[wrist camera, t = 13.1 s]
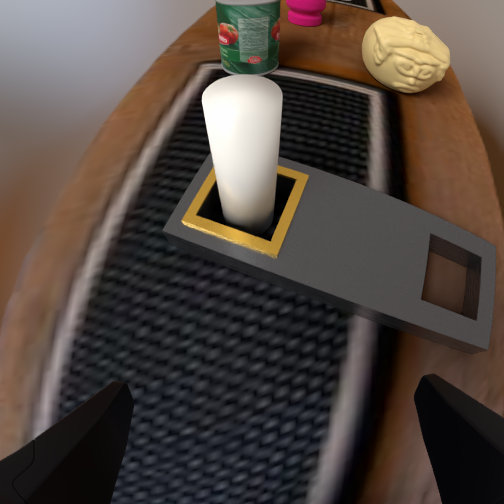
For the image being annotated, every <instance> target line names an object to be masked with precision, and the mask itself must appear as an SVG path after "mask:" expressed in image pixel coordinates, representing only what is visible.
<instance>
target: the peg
mask: <svg viewBox="0 0 504 504" xmlns="http://www.w3.org/2000/svg"><path fill="white" fill-rule="evenodd" d="M202 104H203V109H204V115H205V121H206V126H207V132H208V137H209V143H210V148H211V153H212V159H213V164H214V169H215V175H216V180H217V185H218V190H219V195H220V201H221V206H222V211H223V216H224V221H225V224H226V226H228V227H231V228H234V229H236V230H239V231H242V232H245V233H248V234H250V235H253V236H258V235H260V234H262V233H264V232H265V231H266V230H268V228H269V227H270V226H271V224H272V222H273V216H274V204H275V192H276V179H277V167H278V153H279V140H280V126H281V111H282V91H281V89H280V88H279V87H278V85H277V84H275V83H274V82H273V81H271V80H269V79H267V78H264V77H261V76H256V75H246V74H245V75H233V76H228V77H225V78H222V79H220V80H217V81H215V82H214V83H212V84H211V85H210V86H208V87H207V89H206V90H205V91H204V93H203V95H202Z"/></svg>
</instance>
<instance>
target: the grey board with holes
mask: <svg viewBox="0 0 504 504" xmlns="http://www.w3.org/2000/svg"><path fill="white" fill-rule="evenodd" d="M276 193H279V194H282V195H285V196H288V197H289V199H288V202H287V204H286V206H285V209H284V211H283V213H282V216H281V218H280V221H279V223H278V225H277V228H276V230H275V232H274V235H273V237H272V239H271V242H270V241H267V240H264V239H262V238H259V237H256V236H253V235H250V234H248V233H245V232H242V231H239V230H236V229H234V228H231V227H228V226H225V225H222V224H219V223H217V222H214V221H211V220H208V219H209V218H210V216H211V214H212V212H213V210H214V208H215V206H216V205H217V203H218V201H219V199H220V195H219V190H218V185H217V180H216V175H215V169H214V164H213V159H212V153H210V154H209V156H208V157H207V159H206V160H205V162H204V163H203V165H202V166H201V168H200V169H199V171H198V173H197V174H196V176H195V177H194V179H193V181H192V182H191V184H190V185H189V187H188V189H187V190H186V192H185V193H184V195H183V197H182V198H181V200H180V202H179V203H178V205H177V207H176V208H175V210H174V212H173V213H172V215H171V217H170V219H169V220H168V222H167V224H166V225H165V227H164V229H163V233H164V234H165V236H166V238H167V239H168V241H169V243H170V244H171V245H173V246H175V247H178V248H180V249H183V250H185V251H188V252H190V253H193V254H195V255H198V256H200V257H203V258H205V259H208V260H211V261H213V262H216V263H218V264H221V265H223V266H226V267H229V268H231V269H234V270H236V271H239V272H242V273H244V274H247V275H249V276H252V277H255V278H257V279H260V280H263V281H265V282H268V283H271V284H273V285H276V286H279V287H281V288H284V289H287V290H289V291H292V292H295V293H297V294H300V295H303V296H305V297H308V298H311V299H314V300H316V301H319V302H322V303H324V304H327V305H330V306H333V307H336V308H338V309H341V310H344V311H347V312H349V313H352V314H355V315H358V316H361V317H363V318H366V319H369V320H372V321H375V322H378V323H380V324H383V325H386V326H389V327H392V328H395V329H398V330H400V331H403V332H406V333H409V334H412V335H415V336H418V337H421V338H424V339H427V340H430V341H433V342H436V343H439V344H442V345H445V346H448V347H451V348H454V349H457V350H460V351H463V352H466V353H469V354H474V353H478V352H482V351H486V350H488V348H489V342H490V335H491V327H492V319H493V309H494V296H495V276H496V246H495V245H493V244H491V243H489V242H487V241H486V240H484V239H482V238H480V237H478V236H476V235H474V234H472V233H470V232H468V231H466V230H464V229H462V228H460V227H458V226H456V225H454V224H452V223H450V222H448V221H446V220H443V219H441V218H439V217H437V216H435V215H433V214H431V213H428V212H426V211H424V210H422V209H419V208H417V207H415V206H413V205H410V204H408V203H406V202H403V201H401V200H398V199H396V198H394V197H391V196H389V195H386V194H384V193H381V192H379V191H376V190H374V189H371V188H369V187H366V186H363V185H361V184H358V183H355V182H353V181H350V180H347V179H345V178H342V177H339V176H336V175H333V174H330V173H328V172H325V171H322V170H319V169H316V168H313V167H310V166H307V165H304V164H301V163H298V162H294V161H291V160H288V159H285V158H281V157H278V167H277V179H276ZM428 250H429V251H431V252H434V253H436V254H438V255H440V256H443V257H445V258H447V259H449V260H452V261H454V262H456V263H458V264H461V265H463V266H465V267H467V276H466V287H465V296H464V305H463V312H462V315H460V314H457V313H455V312H452V311H449V310H447V309H444V308H442V307H439V306H437V305H434V304H431V303H429V302H426V301H424V300H421V296H422V290H423V284H424V278H425V271H426V265H427V257H428Z"/></svg>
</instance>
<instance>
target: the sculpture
mask: <svg viewBox="0 0 504 504" xmlns="http://www.w3.org/2000/svg"><path fill="white" fill-rule="evenodd" d="M362 55H363V60H364V63H365V66H366V68H367V69H368V71H369V72H370V74H371V75H372V76H373V77H374V78H375V79H376V80H377V81H379V82H380V83H381V84H383V85H385V86H387V87H389V88H391V89H394V90H396V91H399V92H404V93H415V92H420V91H422V90H425V89H426V88H428V87H429V86H431V85H432V84H434V83H435V82H437V81H441V80H442V78H443V77H444V75H445V71H446V70H447V69H448V67H449V65H450V59H449V58H450V52H449V49H448V47H447V46H446V45H445V44H444V43H443V42H441V41H440V40H439V38H438V37H437V36H435V35H434V34H433V32H432V31H431V30H430V28H428V27H427V26H422V25H420V24H418V23H416V22H415V21H413V20H407V19H404V18H398V17H395V16H393V17H388V18H383V19H380V20H378V21H376V22H375V23H373V24H372V25H371V26H370V27H369V28H368V30H367V31H366V33H365V36H364V38H363V43H362Z"/></svg>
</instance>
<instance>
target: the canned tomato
mask: <svg viewBox="0 0 504 504" xmlns="http://www.w3.org/2000/svg"><path fill="white" fill-rule="evenodd" d="M216 11H217V21H218V31H219V41H220V51H221V60H222V64H221V65H222V68H223V69H224V70H225V71H226V72H228V73H230V74H232V75H245V74H246V75H256V76H262V75H266V74H269V73H271V72H273V71H274V70H276V69H277V67H278V64H279V62H278V57H279V34H280V33H279V30H280V0H216Z"/></svg>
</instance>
